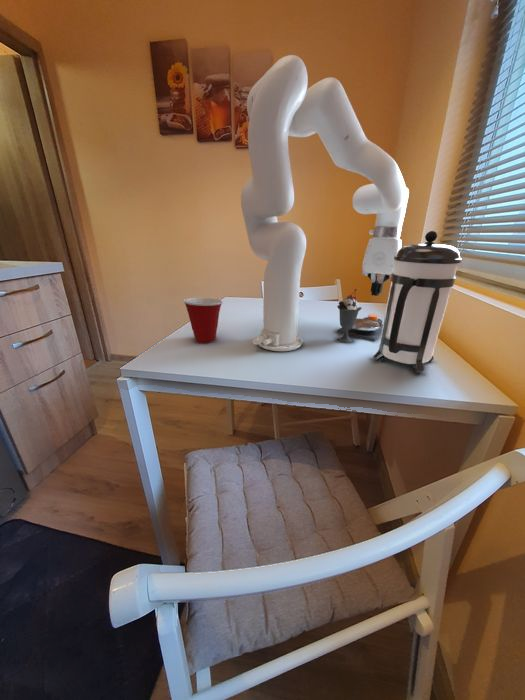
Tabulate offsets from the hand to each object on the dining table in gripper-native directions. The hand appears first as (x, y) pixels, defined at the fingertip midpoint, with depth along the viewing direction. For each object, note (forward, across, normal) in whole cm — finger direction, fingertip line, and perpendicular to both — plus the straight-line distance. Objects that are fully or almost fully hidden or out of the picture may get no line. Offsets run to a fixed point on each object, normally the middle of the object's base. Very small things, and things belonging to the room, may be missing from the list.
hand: (375, 295), depth 90 cm
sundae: (+12, -1, -18) cm, 21 cm away
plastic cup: (+12, -32, -45) cm, 56 cm away
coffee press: (+12, +17, -22) cm, 30 cm away
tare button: (+9, 0, +1) cm, 9 cm away
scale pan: (+9, 0, -8) cm, 12 cm away
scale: (+11, 0, -5) cm, 12 cm away
